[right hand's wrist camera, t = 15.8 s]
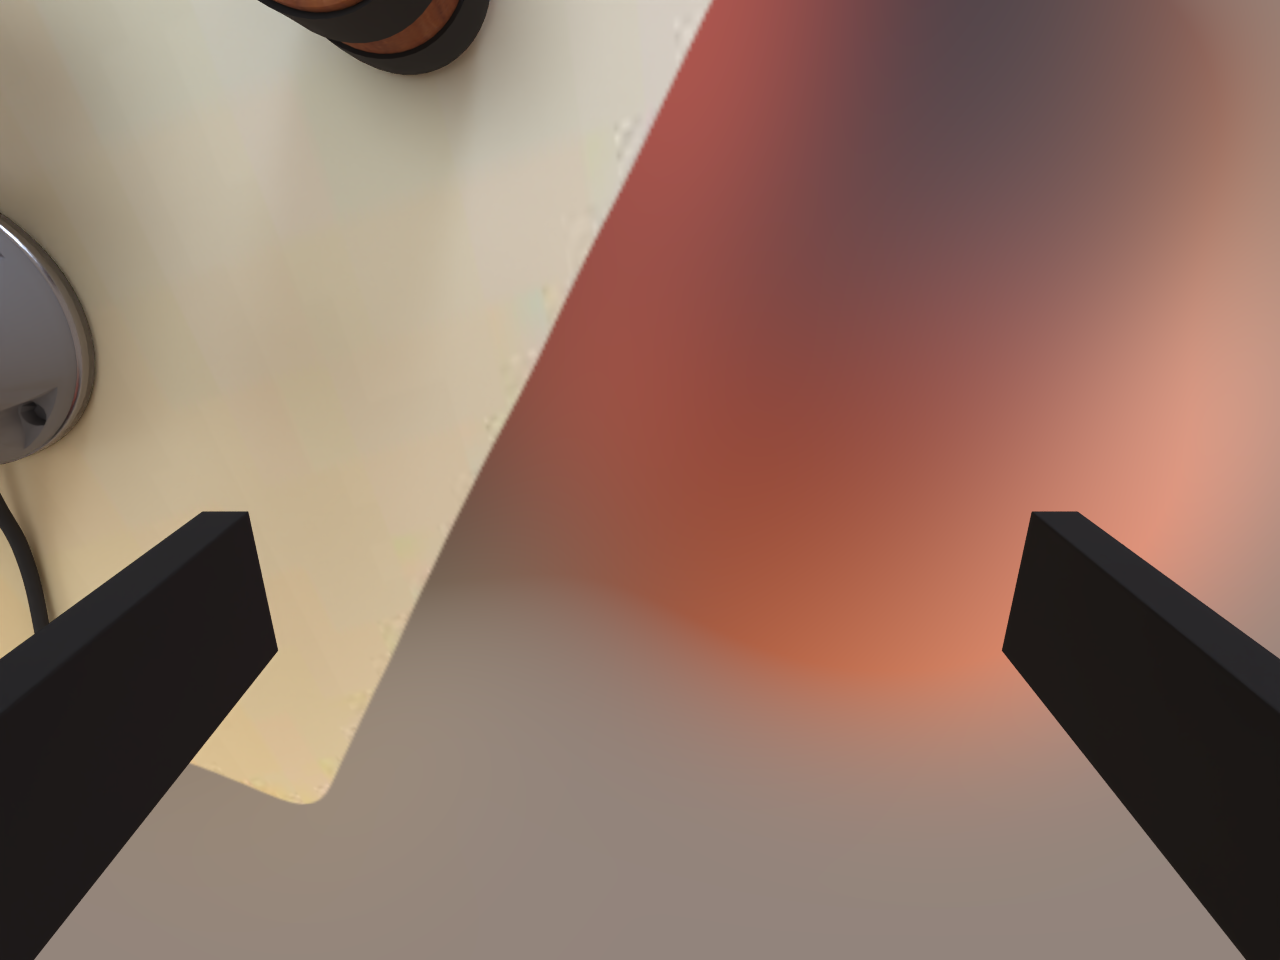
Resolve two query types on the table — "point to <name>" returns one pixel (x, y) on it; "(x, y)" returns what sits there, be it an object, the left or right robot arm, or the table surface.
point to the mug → (392, 29)
